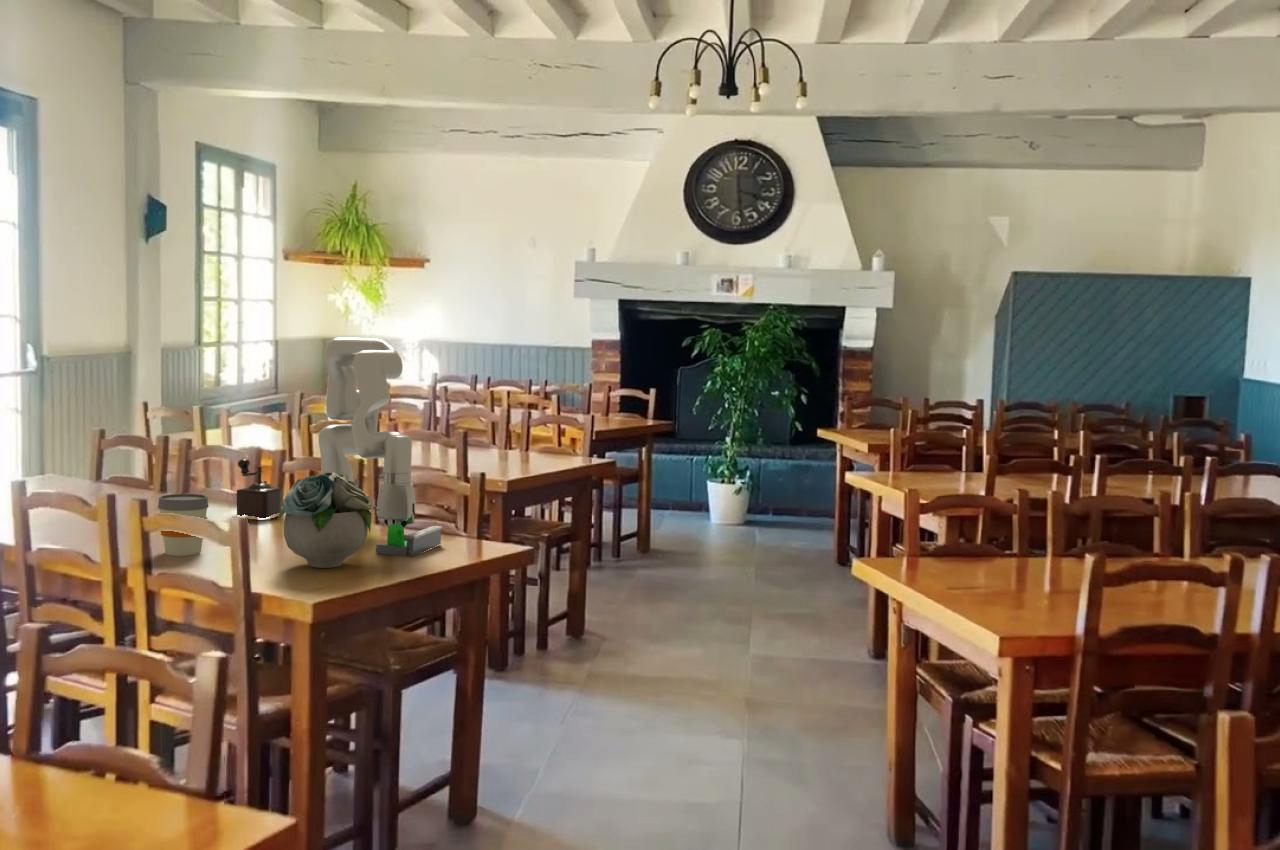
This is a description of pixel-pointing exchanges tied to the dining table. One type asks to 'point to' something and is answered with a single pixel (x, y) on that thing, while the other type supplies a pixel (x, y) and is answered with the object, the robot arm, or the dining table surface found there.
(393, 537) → the mechanical part
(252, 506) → the manual coffee grinder
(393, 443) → the robot arm
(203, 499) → the reusable coffee cup
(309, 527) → the flower arrangement
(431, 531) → the steel bracket
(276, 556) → the dining table surface
